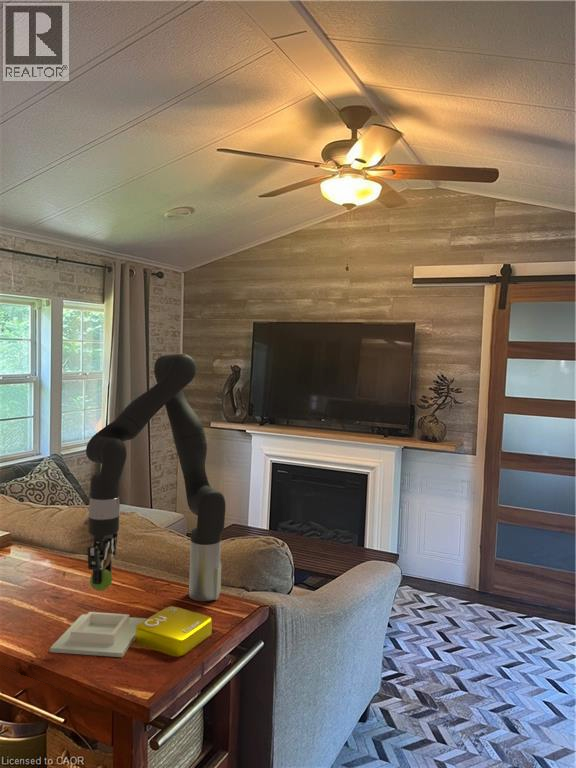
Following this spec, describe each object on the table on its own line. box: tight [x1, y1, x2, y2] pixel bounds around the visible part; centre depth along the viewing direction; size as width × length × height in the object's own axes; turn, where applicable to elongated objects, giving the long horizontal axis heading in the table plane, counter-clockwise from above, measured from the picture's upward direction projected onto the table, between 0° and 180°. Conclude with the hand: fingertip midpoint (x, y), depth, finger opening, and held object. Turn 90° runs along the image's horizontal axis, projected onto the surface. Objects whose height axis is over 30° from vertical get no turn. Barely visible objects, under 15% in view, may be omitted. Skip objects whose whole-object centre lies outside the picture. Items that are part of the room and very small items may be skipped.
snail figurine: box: [89, 549, 113, 592], centre depth 141 cm, size 5×6×12 cm
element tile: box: [135, 605, 213, 658], centre depth 142 cm, size 15×15×5 cm
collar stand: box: [49, 611, 147, 658], centre depth 141 cm, size 18×18×4 cm
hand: (102, 578), depth 141 cm, fingers closed on snail figurine, 5 cm apart
